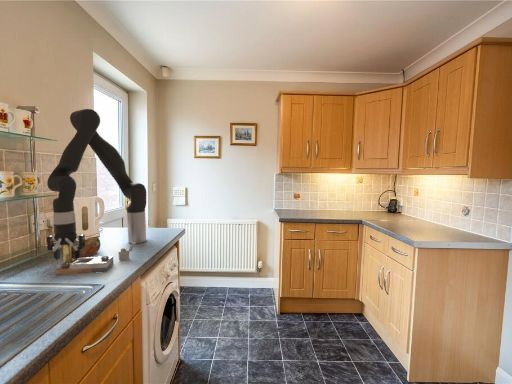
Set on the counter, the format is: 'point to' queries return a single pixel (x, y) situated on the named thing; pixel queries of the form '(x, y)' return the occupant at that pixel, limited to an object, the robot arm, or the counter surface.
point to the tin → (88, 247)
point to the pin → (67, 253)
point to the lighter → (125, 252)
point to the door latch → (86, 265)
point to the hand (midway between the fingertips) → (67, 258)
